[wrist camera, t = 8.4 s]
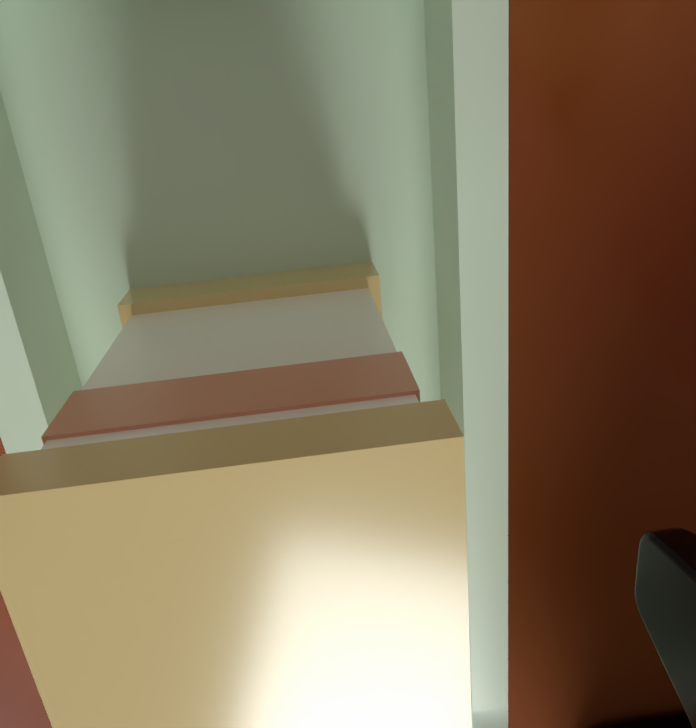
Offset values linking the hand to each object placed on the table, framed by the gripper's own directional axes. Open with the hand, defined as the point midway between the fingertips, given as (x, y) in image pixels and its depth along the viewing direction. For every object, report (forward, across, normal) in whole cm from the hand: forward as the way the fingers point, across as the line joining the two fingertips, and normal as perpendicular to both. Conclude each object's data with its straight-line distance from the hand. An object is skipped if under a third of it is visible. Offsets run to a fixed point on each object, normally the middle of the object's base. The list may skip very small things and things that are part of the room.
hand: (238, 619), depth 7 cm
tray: (+7, 0, 0) cm, 7 cm away
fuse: (+6, 0, 0) cm, 6 cm away
